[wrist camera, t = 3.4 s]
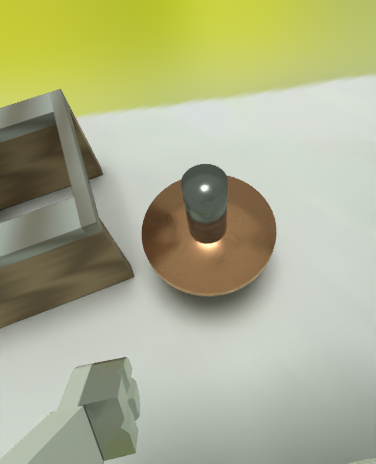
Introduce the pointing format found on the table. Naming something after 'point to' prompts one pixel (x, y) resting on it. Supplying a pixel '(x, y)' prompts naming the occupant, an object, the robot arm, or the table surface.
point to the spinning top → (208, 233)
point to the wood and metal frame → (50, 212)
